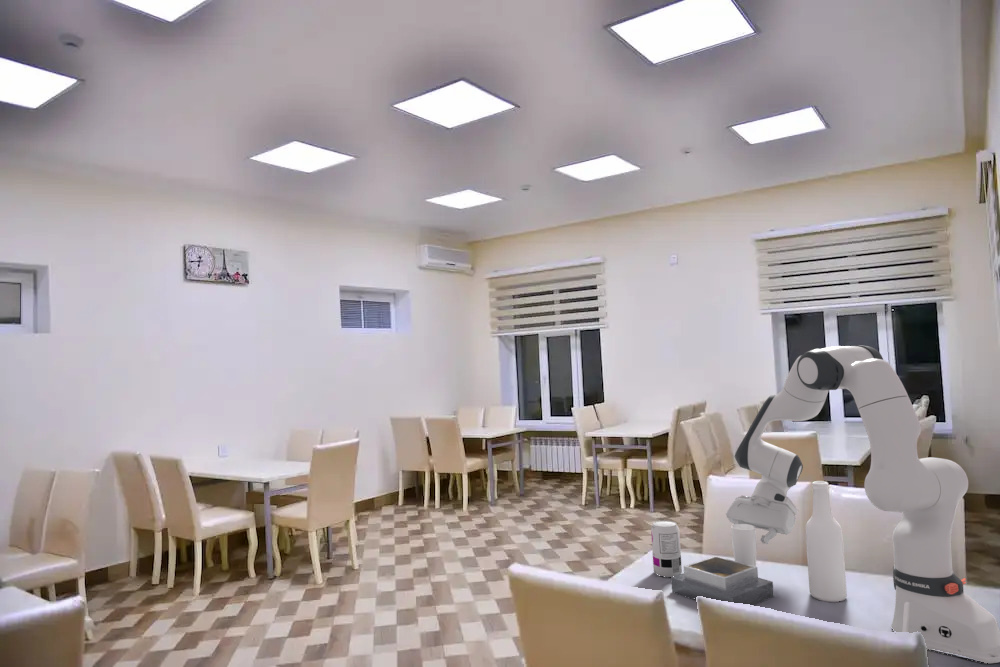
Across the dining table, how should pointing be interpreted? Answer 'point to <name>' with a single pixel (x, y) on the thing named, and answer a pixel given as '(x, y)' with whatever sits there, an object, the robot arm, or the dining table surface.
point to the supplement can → (666, 548)
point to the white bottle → (825, 549)
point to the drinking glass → (744, 543)
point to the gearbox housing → (723, 581)
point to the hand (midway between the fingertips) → (749, 539)
